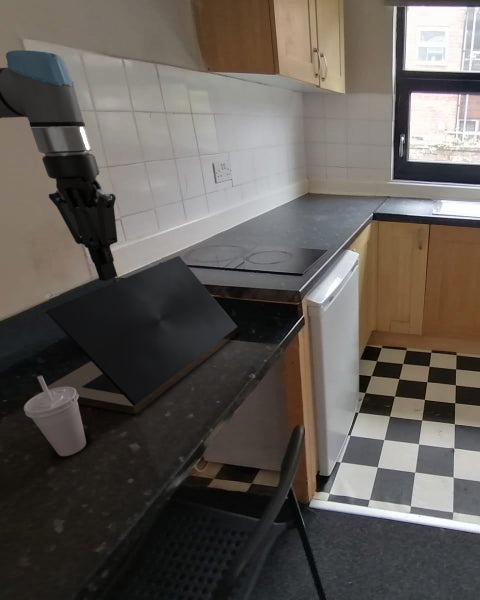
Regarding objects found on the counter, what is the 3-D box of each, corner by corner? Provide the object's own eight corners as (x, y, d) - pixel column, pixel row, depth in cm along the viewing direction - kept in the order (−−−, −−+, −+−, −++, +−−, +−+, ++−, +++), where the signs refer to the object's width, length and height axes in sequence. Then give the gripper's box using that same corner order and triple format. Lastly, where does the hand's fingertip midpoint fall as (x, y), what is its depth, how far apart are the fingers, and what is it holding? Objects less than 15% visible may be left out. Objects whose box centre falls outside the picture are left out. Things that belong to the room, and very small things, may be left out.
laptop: (45, 397, 77) (41, 389, 76) (164, 325, 103) (162, 319, 102) (136, 414, 72) (133, 405, 71) (236, 334, 98) (235, 327, 98)
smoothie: (47, 469, 61) (9, 394, 55) (46, 445, 65) (11, 373, 59) (98, 449, 64) (68, 376, 59) (94, 427, 69) (66, 358, 63)
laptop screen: (44, 312, 67) (47, 310, 66) (176, 257, 93) (179, 255, 93) (133, 406, 71) (135, 404, 71) (235, 328, 98) (237, 326, 97)
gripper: (116, 152, 73) (150, 274, 83) (60, 151, 76) (99, 269, 86) (76, 155, 66) (119, 287, 76) (17, 155, 69) (65, 282, 79)
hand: (108, 278), depth 81 cm, fingers closed
